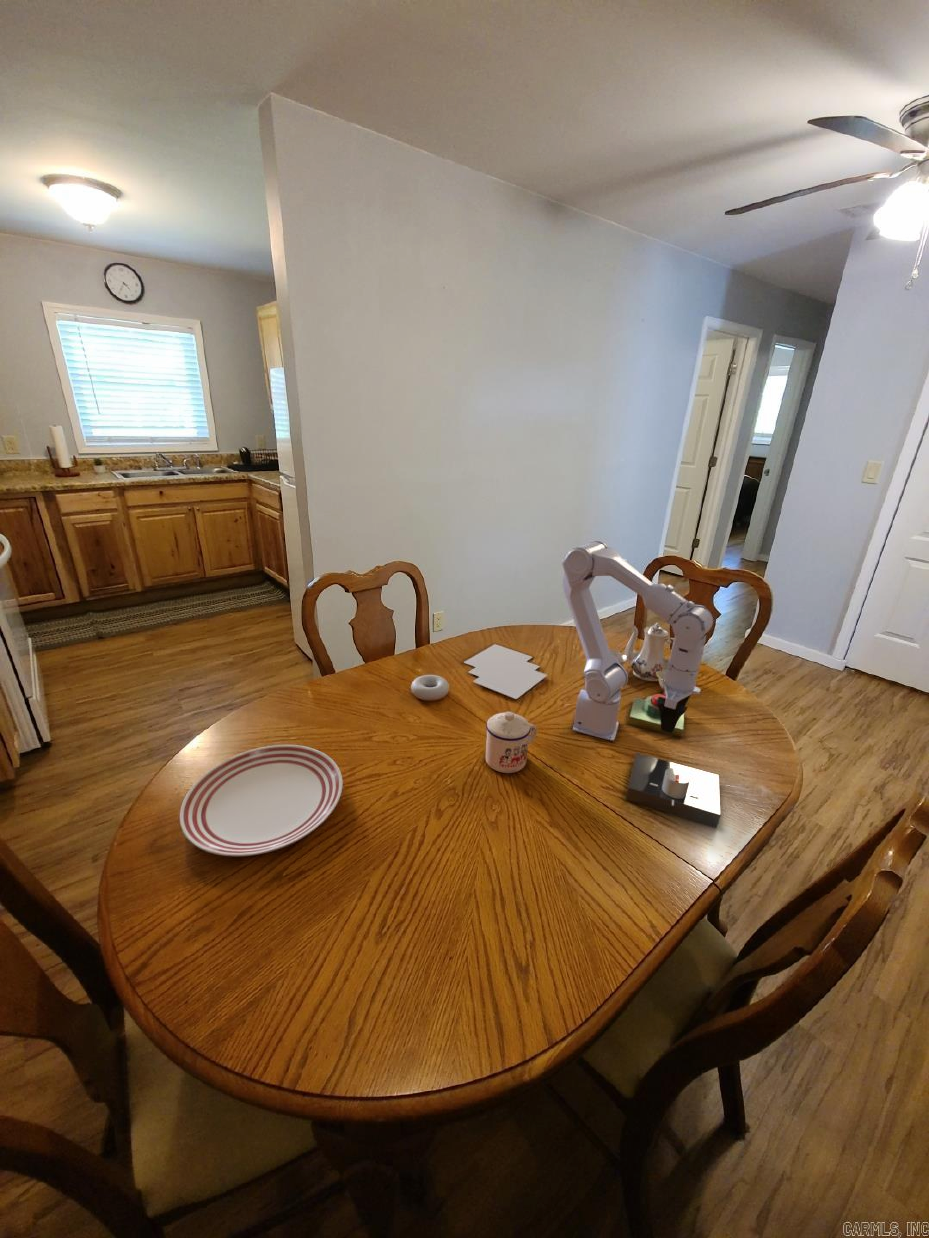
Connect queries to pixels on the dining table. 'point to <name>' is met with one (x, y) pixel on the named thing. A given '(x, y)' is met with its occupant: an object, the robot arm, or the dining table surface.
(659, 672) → the chinaware
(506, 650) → the paper stack
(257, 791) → the dinner plate
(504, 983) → the dining table surface
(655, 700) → the button
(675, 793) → the hob knob
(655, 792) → the hob panel
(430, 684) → the donut
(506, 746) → the teacup with lid
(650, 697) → the block
